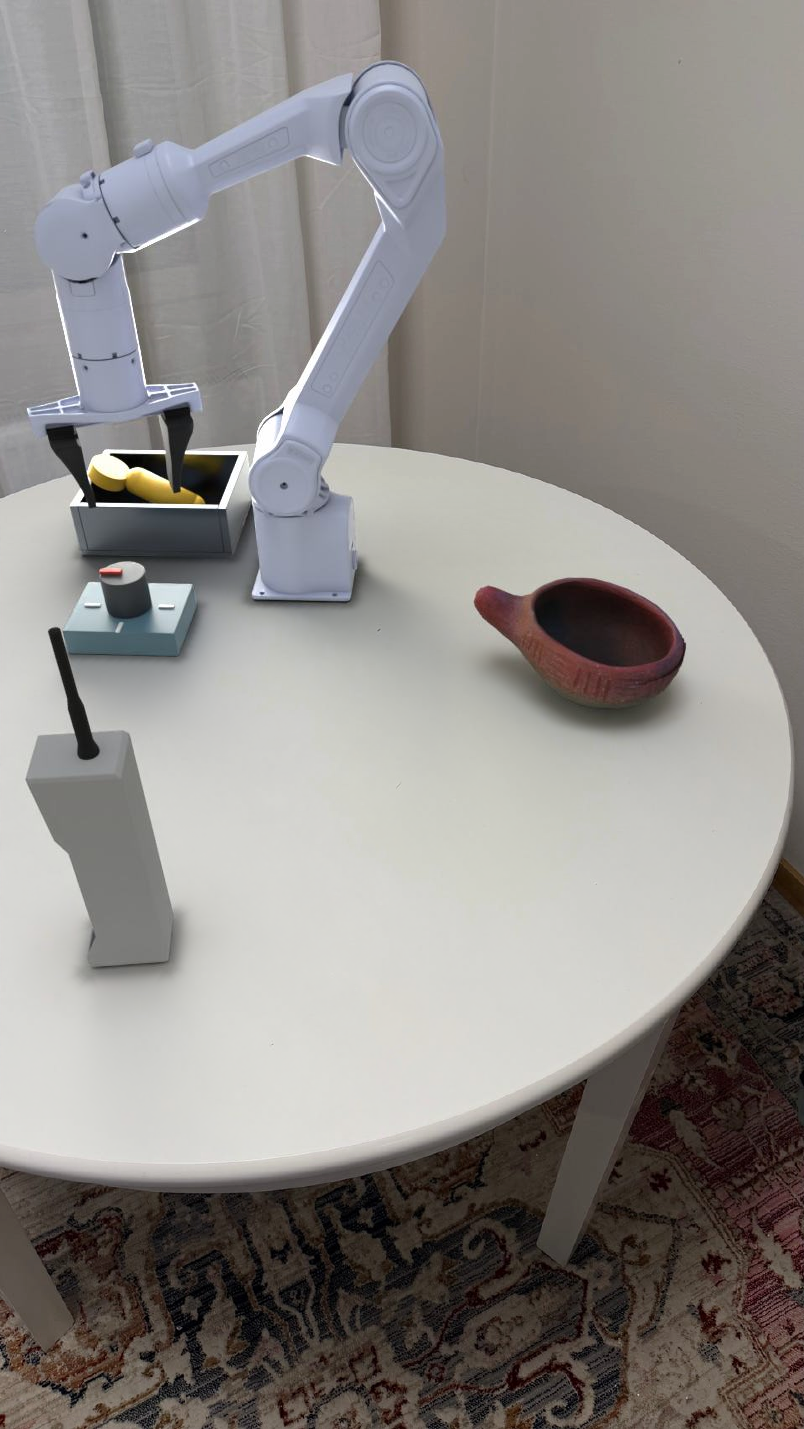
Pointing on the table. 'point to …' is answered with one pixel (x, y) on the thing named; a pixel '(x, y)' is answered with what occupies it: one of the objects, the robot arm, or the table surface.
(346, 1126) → the table surface
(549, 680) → the bowl
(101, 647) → the dial base
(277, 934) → the table surface
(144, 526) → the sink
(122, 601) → the rotary knob
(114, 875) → the vintage mobile phone
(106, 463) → the yellow disc and capsule
